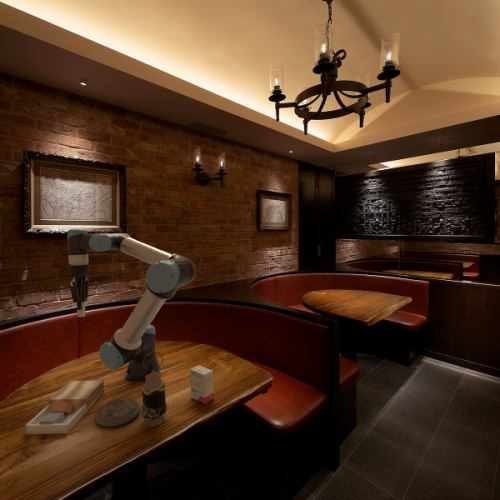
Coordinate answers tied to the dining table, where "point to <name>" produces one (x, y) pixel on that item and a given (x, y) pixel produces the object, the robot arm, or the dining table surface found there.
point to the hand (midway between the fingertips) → (81, 316)
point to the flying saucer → (118, 412)
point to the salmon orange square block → (62, 407)
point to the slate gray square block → (52, 418)
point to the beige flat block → (79, 393)
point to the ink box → (201, 384)
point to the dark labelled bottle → (153, 398)
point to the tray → (58, 428)
